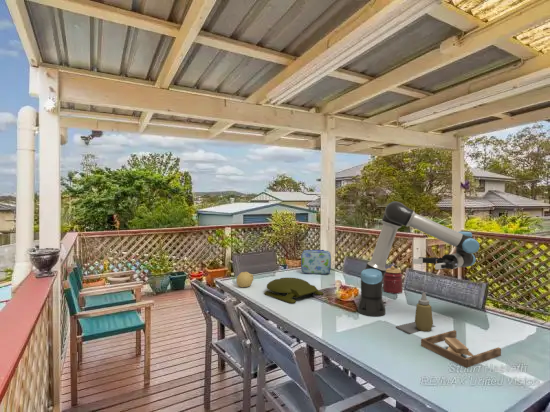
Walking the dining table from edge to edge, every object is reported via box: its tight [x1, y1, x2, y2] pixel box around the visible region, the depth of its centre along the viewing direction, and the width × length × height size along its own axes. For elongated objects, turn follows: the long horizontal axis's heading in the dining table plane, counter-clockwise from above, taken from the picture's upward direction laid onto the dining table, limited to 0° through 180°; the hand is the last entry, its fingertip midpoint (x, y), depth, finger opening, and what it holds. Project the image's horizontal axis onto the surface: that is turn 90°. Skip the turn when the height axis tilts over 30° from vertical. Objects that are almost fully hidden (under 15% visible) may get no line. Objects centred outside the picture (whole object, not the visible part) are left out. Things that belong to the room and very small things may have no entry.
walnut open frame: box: [420, 329, 502, 368], centre depth 132 cm, size 22×20×4 cm
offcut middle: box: [446, 343, 465, 357], centre depth 130 cm, size 5×11×2 cm, turn 141°
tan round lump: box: [236, 271, 254, 288], centre depth 238 cm, size 12×12×11 cm
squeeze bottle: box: [414, 292, 434, 332], centre depth 154 cm, size 8×8×18 cm
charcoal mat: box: [395, 321, 437, 335], centre depth 154 cm, size 18×18×1 cm
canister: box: [382, 265, 404, 294], centre depth 223 cm, size 13×13×18 cm
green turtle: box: [263, 277, 324, 305], centre depth 219 cm, size 35×31×10 cm
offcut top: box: [444, 337, 469, 355], centre depth 130 cm, size 4×10×2 cm, turn 176°
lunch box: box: [300, 249, 332, 275], centre depth 278 cm, size 26×11×21 cm, turn 81°
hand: (424, 264), depth 164 cm, fingers open, 13 cm apart
